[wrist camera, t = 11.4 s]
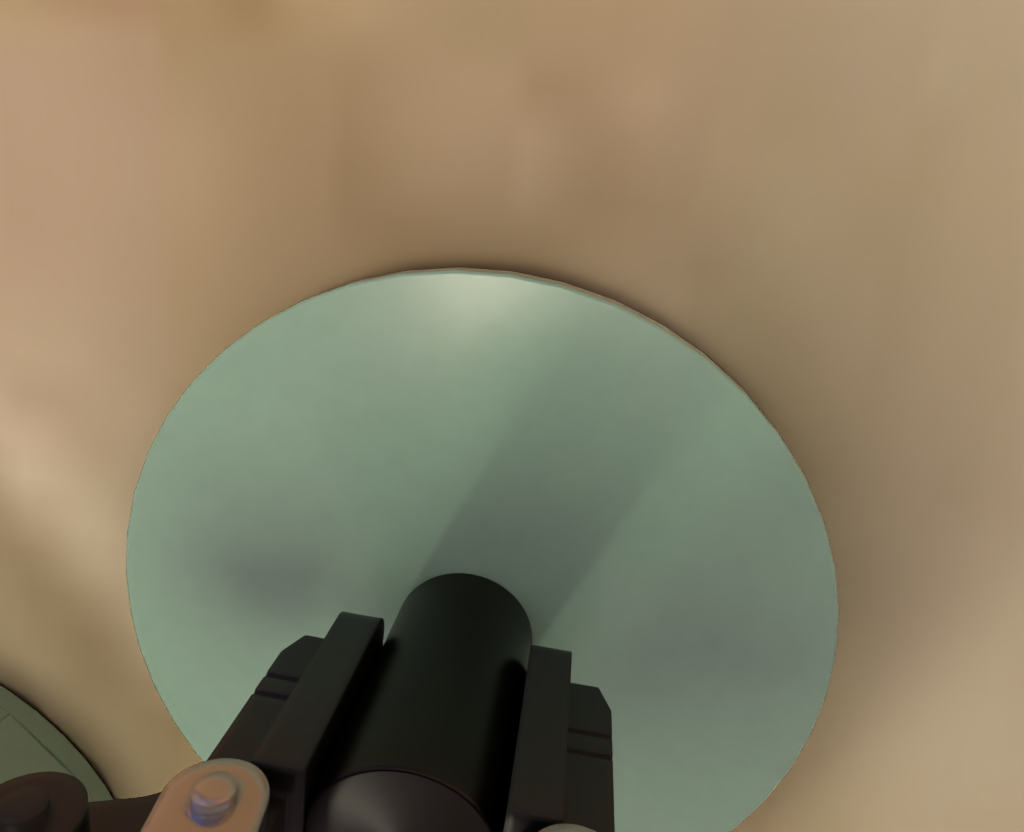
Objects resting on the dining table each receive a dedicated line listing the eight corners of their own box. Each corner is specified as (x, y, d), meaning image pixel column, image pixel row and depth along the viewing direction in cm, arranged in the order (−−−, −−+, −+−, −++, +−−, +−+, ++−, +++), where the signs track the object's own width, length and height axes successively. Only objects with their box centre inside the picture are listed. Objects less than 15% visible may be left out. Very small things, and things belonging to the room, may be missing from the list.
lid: (911, 323, 12) (1175, 436, 7) (735, 911, 17) (805, 1281, 11) (147, 214, 13) (-183, 233, 8) (164, 798, 17) (-41, 1086, 12)
